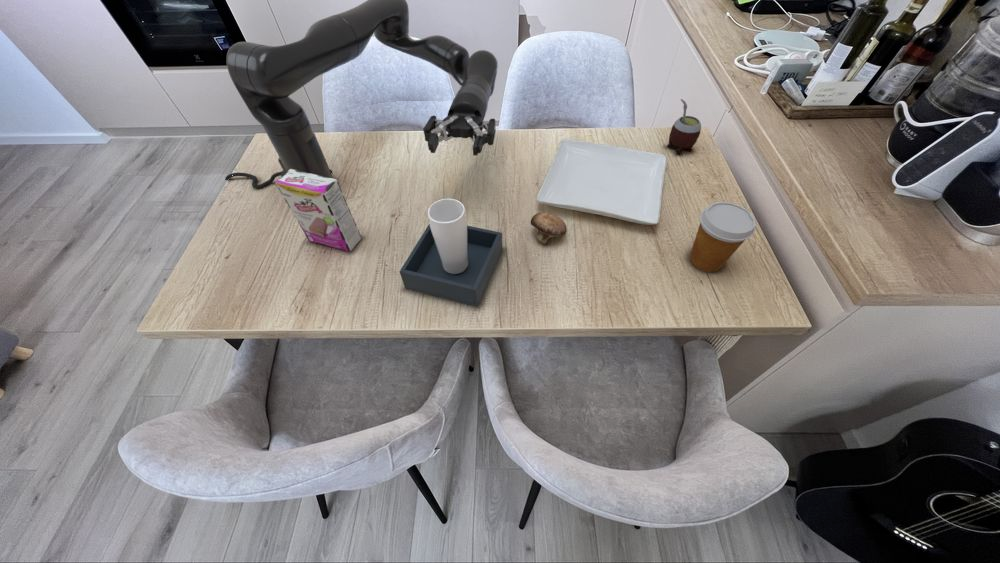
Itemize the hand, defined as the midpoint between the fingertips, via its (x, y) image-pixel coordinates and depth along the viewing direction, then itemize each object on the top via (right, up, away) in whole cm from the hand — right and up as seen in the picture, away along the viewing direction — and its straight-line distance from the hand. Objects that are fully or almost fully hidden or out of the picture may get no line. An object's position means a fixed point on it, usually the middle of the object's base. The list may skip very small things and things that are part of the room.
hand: (453, 150), depth 76 cm
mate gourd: (+57, +10, +31) cm, 66 cm away
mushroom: (+20, -15, +11) cm, 27 cm away
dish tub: (0, -23, +6) cm, 23 cm away
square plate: (+34, -2, +21) cm, 40 cm away
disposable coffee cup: (+52, -21, +5) cm, 56 cm away
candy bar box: (-28, -16, +12) cm, 34 cm away
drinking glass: (0, -22, +5) cm, 23 cm away
